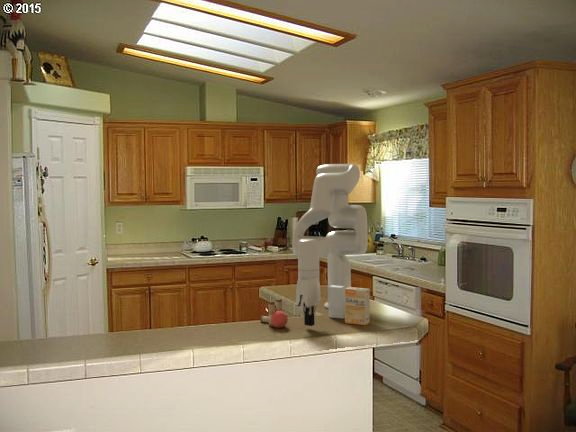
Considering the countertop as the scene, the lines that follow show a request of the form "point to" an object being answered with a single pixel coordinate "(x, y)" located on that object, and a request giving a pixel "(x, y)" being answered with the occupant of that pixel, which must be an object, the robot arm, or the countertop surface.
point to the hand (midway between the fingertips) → (309, 325)
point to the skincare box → (336, 301)
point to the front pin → (264, 319)
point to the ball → (279, 319)
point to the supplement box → (357, 306)
